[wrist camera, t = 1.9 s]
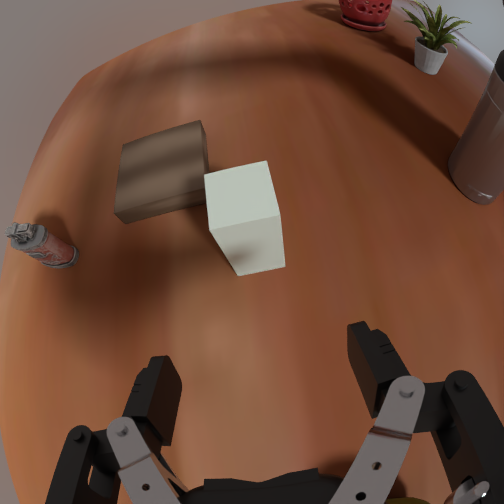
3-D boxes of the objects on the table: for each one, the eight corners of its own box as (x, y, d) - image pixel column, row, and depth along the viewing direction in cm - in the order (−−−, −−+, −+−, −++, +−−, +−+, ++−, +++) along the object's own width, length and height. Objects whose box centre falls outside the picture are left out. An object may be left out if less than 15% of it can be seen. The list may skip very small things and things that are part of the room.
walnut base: (131, 156, 39) (122, 144, 37) (205, 134, 39) (200, 119, 36) (125, 224, 35) (113, 213, 32) (212, 201, 34) (205, 187, 31)
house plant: (438, 55, 43) (452, 1, 28) (469, 90, 37) (491, 30, 22) (387, 47, 44) (395, -14, 29) (415, 82, 39) (433, 10, 24)
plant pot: (398, 34, 47) (404, -5, 36) (358, 36, 47) (361, -7, 36) (366, 15, 52) (368, -20, 41) (327, 17, 52) (326, -21, 41)
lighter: (42, 268, 35) (-5, 242, 25) (46, 247, 36) (3, 219, 27) (76, 268, 33) (25, 239, 24) (81, 245, 35) (34, 212, 26)
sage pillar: (231, 233, 32) (204, 174, 22) (275, 224, 32) (266, 160, 22) (238, 276, 30) (209, 230, 20) (285, 266, 30) (280, 214, 20)
